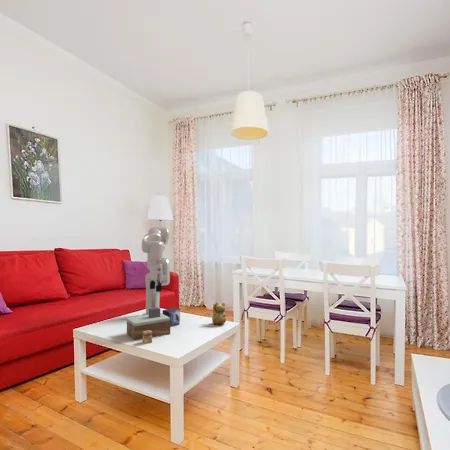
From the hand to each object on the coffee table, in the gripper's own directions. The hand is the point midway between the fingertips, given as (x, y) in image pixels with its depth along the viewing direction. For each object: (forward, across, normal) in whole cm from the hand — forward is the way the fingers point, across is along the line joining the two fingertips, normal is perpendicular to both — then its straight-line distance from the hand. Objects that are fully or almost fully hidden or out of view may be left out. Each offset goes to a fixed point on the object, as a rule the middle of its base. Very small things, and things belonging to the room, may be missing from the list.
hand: (155, 290), depth 197 cm
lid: (+18, +1, +4) cm, 18 cm away
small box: (+26, +9, -15) cm, 32 cm away
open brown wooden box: (+26, 0, +4) cm, 26 cm away
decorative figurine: (+26, -6, -43) cm, 51 cm away
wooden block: (+26, -13, +10) cm, 31 cm away
